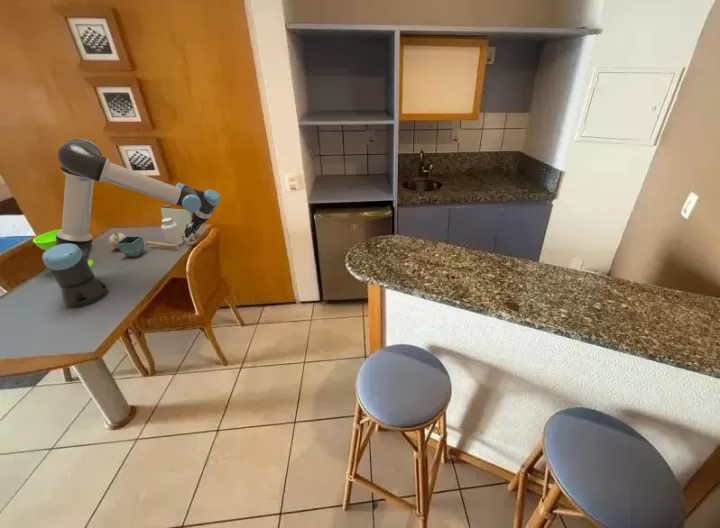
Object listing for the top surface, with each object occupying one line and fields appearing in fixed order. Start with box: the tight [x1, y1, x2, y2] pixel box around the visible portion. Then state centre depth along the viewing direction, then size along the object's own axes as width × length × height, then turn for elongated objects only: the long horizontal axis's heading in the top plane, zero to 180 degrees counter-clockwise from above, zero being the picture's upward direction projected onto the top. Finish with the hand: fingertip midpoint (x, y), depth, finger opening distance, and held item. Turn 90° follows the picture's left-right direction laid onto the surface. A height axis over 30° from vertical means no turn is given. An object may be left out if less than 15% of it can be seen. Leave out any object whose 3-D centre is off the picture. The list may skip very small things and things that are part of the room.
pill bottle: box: [160, 218, 184, 246], centre depth 172 cm, size 8×8×15 cm
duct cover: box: [160, 207, 195, 235], centre depth 179 cm, size 14×20×1 cm
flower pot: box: [116, 235, 145, 258], centre depth 164 cm, size 9×9×9 cm
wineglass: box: [32, 228, 94, 267], centre depth 151 cm, size 16×16×18 cm
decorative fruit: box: [108, 231, 127, 249], centre depth 170 cm, size 9×8×10 cm
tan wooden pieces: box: [144, 204, 196, 252], centre depth 175 cm, size 20×20×18 cm
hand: (185, 239), depth 173 cm, fingers closed
